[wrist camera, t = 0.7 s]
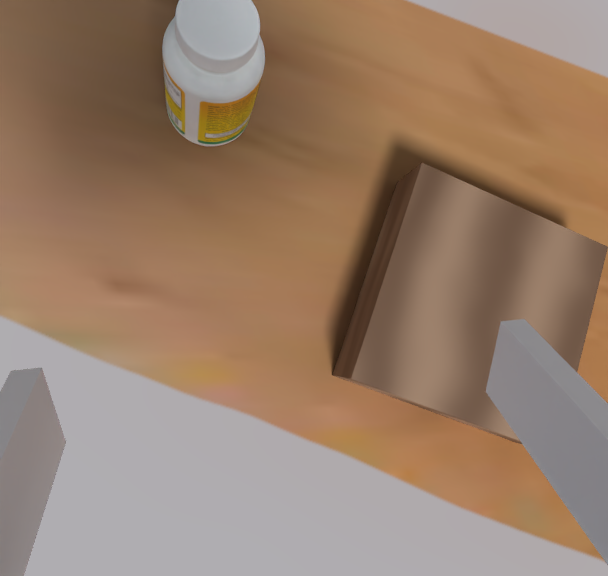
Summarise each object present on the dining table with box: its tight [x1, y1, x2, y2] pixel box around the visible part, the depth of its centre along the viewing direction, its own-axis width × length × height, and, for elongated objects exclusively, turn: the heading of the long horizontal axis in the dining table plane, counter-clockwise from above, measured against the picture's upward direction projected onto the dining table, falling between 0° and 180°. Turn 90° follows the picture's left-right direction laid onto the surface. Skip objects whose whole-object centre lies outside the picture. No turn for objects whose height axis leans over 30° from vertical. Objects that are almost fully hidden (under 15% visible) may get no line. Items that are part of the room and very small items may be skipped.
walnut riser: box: [333, 163, 608, 444], centre depth 34 cm, size 14×14×4 cm
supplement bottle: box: [162, 0, 265, 146], centre depth 29 cm, size 5×5×10 cm
